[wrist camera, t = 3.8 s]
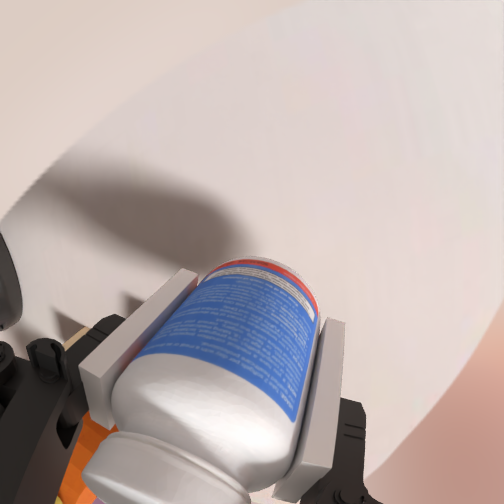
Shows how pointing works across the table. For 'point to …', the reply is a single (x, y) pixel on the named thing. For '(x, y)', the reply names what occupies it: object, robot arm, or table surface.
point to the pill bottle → (214, 393)
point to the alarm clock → (82, 463)
